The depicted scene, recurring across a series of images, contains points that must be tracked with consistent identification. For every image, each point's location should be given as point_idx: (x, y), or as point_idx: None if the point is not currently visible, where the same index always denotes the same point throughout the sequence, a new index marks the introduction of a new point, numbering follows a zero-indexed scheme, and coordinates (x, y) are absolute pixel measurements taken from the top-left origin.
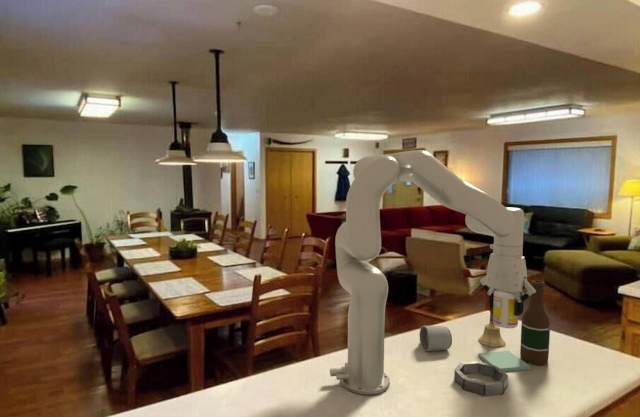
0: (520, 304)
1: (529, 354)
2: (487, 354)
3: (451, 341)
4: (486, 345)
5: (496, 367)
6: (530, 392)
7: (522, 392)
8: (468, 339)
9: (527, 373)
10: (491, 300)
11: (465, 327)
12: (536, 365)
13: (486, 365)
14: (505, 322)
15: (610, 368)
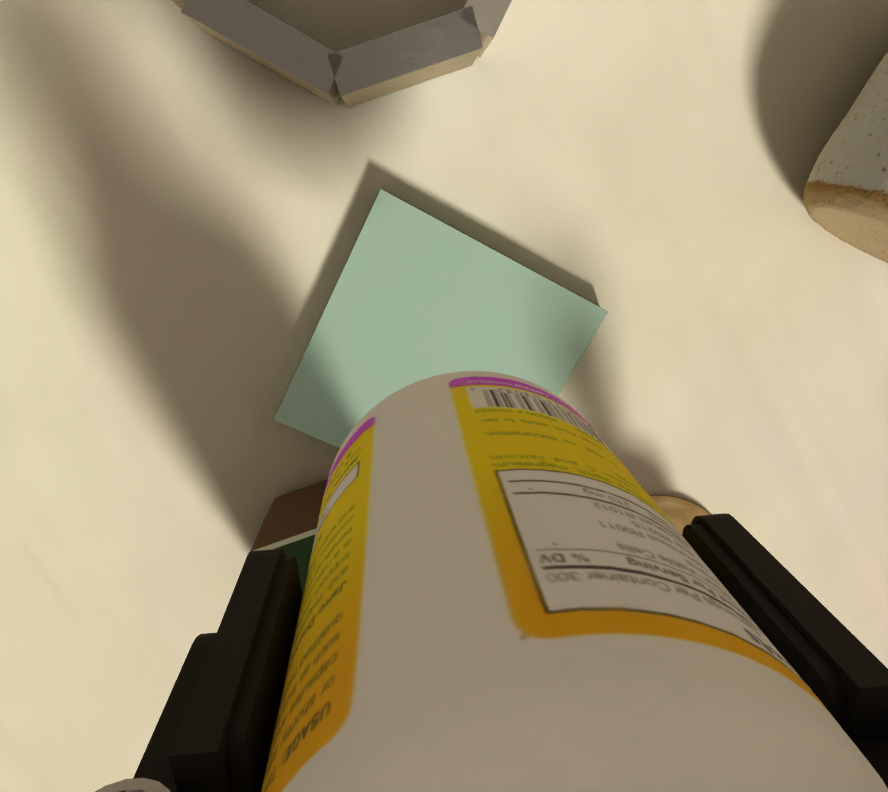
0: (152, 767)
1: (317, 508)
2: (551, 344)
3: (827, 188)
4: None
5: (322, 71)
6: (66, 91)
7: (93, 38)
8: (773, 488)
9: (253, 346)
10: (789, 612)
11: (868, 627)
12: (287, 494)
13: (395, 33)
14: (395, 412)
15: (46, 767)
